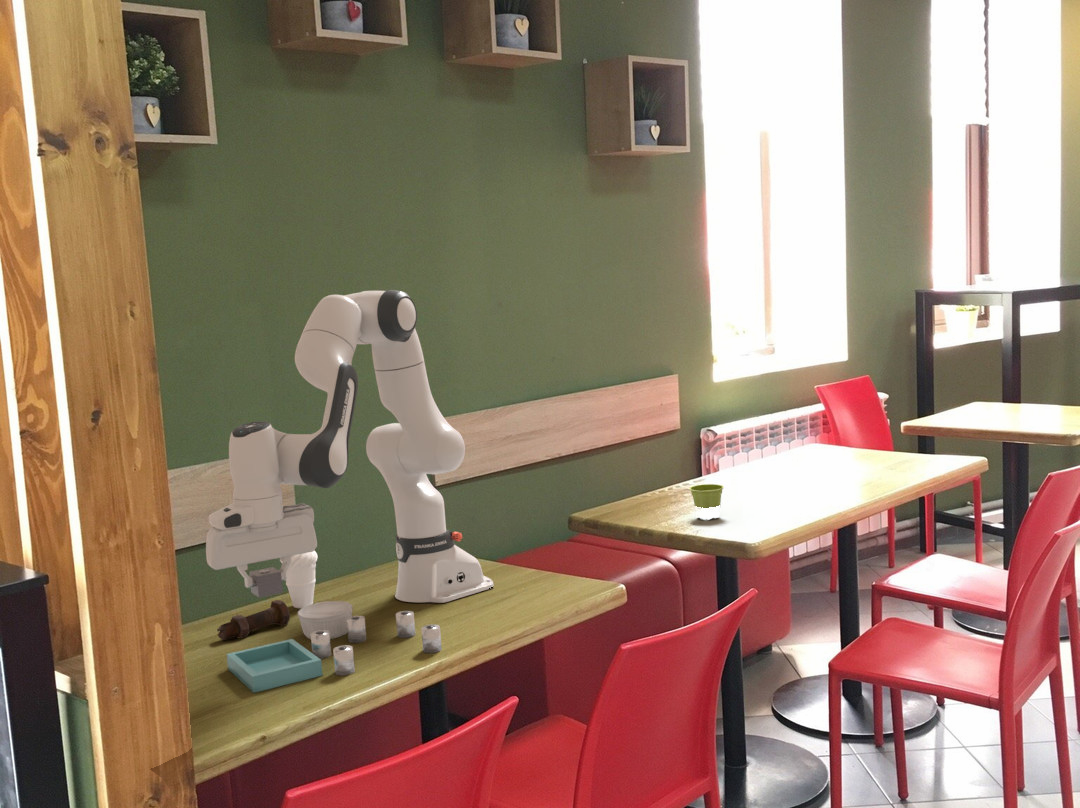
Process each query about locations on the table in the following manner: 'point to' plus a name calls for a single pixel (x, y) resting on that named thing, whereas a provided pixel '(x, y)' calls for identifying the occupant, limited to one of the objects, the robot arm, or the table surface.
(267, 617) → the bolt
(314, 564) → the soft serve ice cream cone
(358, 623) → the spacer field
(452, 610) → the table surface
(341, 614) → the ramekin
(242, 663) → the tray
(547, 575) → the table surface
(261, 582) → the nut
